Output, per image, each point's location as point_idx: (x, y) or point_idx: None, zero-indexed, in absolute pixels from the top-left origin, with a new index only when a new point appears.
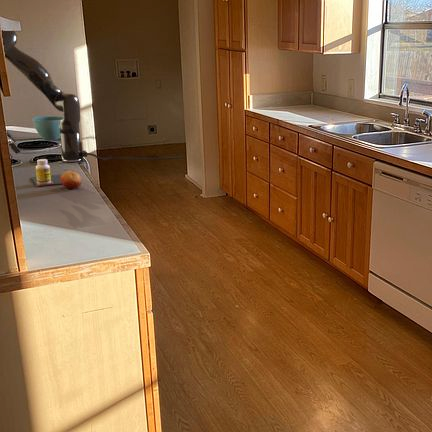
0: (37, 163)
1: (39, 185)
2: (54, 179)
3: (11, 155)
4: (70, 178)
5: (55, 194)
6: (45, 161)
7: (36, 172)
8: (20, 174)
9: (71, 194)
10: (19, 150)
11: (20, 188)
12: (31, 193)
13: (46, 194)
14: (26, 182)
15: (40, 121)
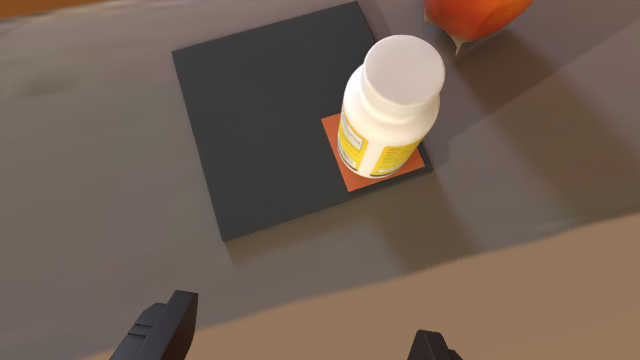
0: (415, 115)
1: (423, 162)
2: (294, 107)
3: (432, 343)
4: None
5: (574, 68)
6: (426, 46)
7: (406, 153)
8: (94, 340)
9: (568, 6)
10: (193, 298)
11: (462, 258)
12: (564, 178)
13: (577, 106)
14: (323, 253)
15: None
